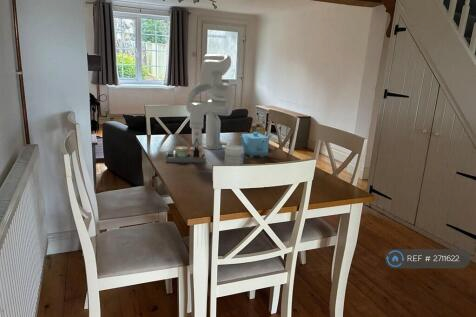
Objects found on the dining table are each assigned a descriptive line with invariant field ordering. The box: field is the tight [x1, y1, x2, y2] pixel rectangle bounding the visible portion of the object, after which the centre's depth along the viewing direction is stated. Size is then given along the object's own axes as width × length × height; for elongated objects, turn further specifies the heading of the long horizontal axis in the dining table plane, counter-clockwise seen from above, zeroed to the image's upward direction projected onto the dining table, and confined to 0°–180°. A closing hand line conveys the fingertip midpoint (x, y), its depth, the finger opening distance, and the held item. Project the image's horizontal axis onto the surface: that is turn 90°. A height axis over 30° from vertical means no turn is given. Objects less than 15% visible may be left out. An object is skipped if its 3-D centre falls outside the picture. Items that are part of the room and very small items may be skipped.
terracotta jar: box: [189, 146, 203, 158], centre depth 203 cm, size 7×7×7 cm
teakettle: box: [237, 132, 273, 159], centre depth 221 cm, size 19×19×15 cm
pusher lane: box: [165, 151, 206, 163], centre depth 203 cm, size 22×9×4 cm, turn 99°
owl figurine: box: [248, 121, 266, 136], centre depth 246 cm, size 18×12×17 cm, turn 24°
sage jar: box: [174, 146, 189, 158], centre depth 202 cm, size 7×7×7 cm
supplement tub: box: [224, 144, 245, 166], centre depth 181 cm, size 10×10×15 cm
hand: (196, 154), depth 203 cm, fingers open, 9 cm apart
